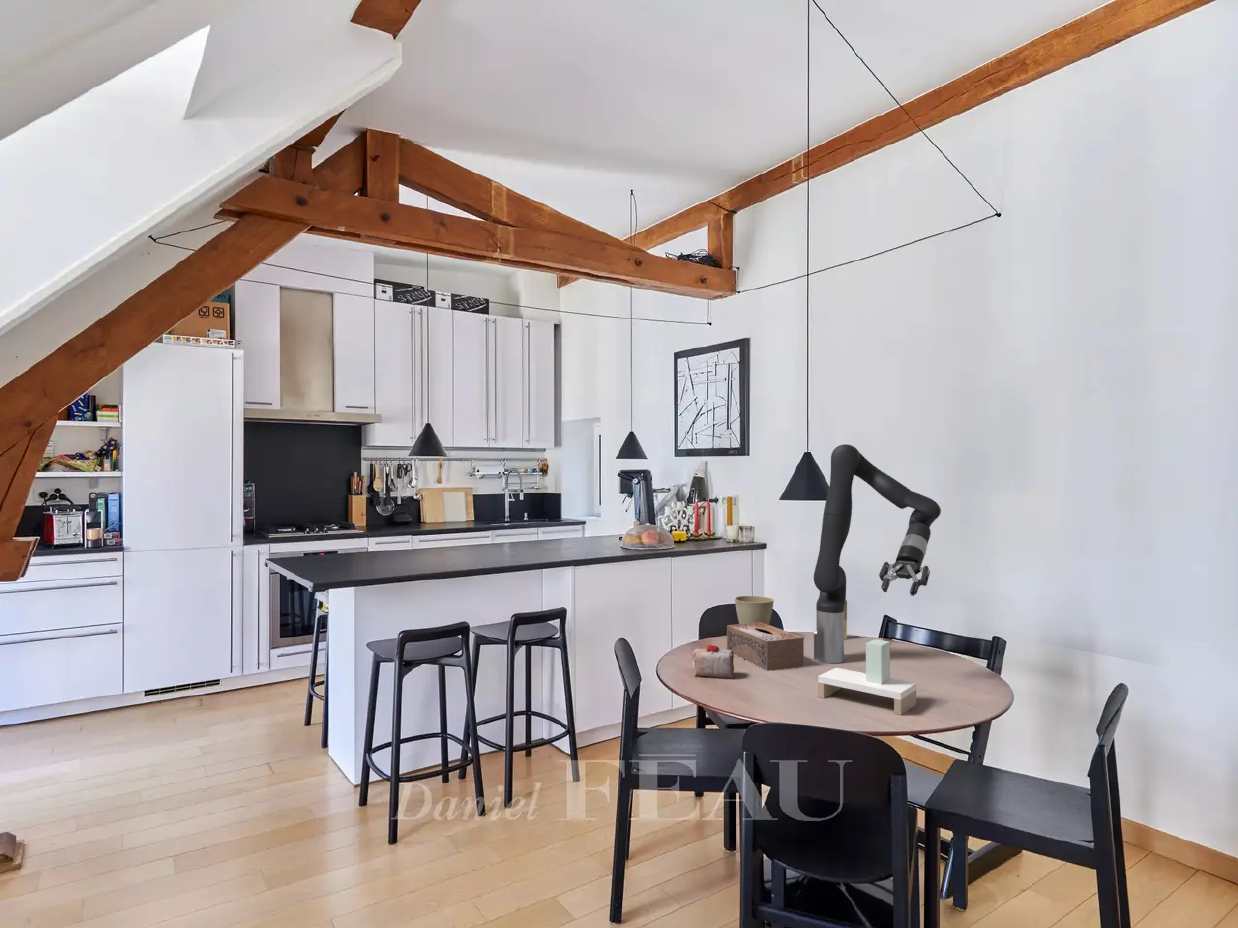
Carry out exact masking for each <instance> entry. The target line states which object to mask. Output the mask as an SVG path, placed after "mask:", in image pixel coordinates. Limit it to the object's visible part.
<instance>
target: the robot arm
mask: <svg viewBox="0 0 1238 928" xmlns="http://www.w3.org/2000/svg"><path fill="white" fill-rule="evenodd" d="M829 477H830V479H829V487H828V491H827V494H826V495H827V496H826V499H825V505H824V510H823V515H822V516H823V517H822V525H821V526H822V527H821V535H820V543H819V551H818V556H817V559H816V564H815V568H814V572H813V582H814V585H815V587H816V588H817V590H818V591H819V596H818V599H817V601H816V607H815V608H816V611H815V612H816V616H815V617H816V626H815V627H816V630H815V631H814V632H813V660H816V661H819V662H821V663H826V664H827V663H829V664H839V663H844V661H845V639H844V605H845V601H846V600H847V576H846V572H845V570H844V568H843V567H842V566H840V561H841V554H842V550H843V548H844V545H845V543H846V540H847V538H848V535H849V532H850V528H851V522H852V515H853V483H854V477H857V478H859V479H861V480H862V481H863V482H865V483H866V484H868V485H869V486H870V487H871V488H872V489H873V490H874V491H876V492H877V493H878V494H879V495H880V496H881V497H883V498H884V499H885V500H887V501H888V502H890V503H891V504H893V505H894V506H896V507H897V508H899V509H901V510H904V509H906V508H911V509H913V511H912V512H911V515H910V517H909V521H908V527H907V531H906V533H905V536H904V539H903V540H902V542H901V544H900V547H899V550H898V553H897V555H896V558H895V562H894V563H893V564H891V563H889V562H888V561H884V563H883V565H882V567H881V569H880V572H879V573H878V577H879V579H880V580H881V582H882V583H881V585H880V586H881V589H882V590H881V591H883V593H887V592H888V589H889V586H890V583H891V582H893V581H896V580H897V579H905V580H910V579H911V580H912V581H913V582H912V584H911V587H910V590H909V594H910V596H912V597H914V596H915V595H917V593H918V591H919V587H921V586H923V587H927V585H928V581H929V577H930V573H931V570H930V568H929V566H928V565H924V566H922V564H923V561H924V558H925V555H926V553H927V549H928V544H929V541H930V538H931V535H932V534H931V532H932V531H931V526H932V524H933V523H934V522H936V520H937V519H938V518H939V517H940V516H941V513H942V508H941V507H940V505H939V503H938V502H937V501H935V500H934V499H932V498H930V497H929V496H926V495H923V494H921V493H918V492H915V491H913V490H911V489H910V488H908V487H906V486H905V485H904V484H902V483H901V482H900V481H898V480H897V479H895V478H893V477H892V476H891V475H888V474H887V473H885V472H884V471H883V470H881V469H879V468H878V467H877V466H875V465H874V464H873V463H872V462H871V461H869V460H868V459H867V458H866V457H865V456H864V455H863V454H862V453H861V452H860V451H859V450H858V449H857V448H856V447H855V446H854V445H853V444H845V443H844V444H840V445H838V446H836V447H835V448H834V449H833V450H832V452H831V455H830V476H829ZM919 573H921V577H920V579H919V578H918V577H917V575H918V574H919Z"/></svg>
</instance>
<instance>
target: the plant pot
mask: <svg viewBox="0 0 1238 928" xmlns="http://www.w3.org/2000/svg"><path fill="white" fill-rule="evenodd" d="M774 601H775V600H774V598H772V597H768V596H767V597H766V596H760V595H759V596H758V595H740V596H735V597H734V603H735V610H736V616H737V621H738V624H747V623H757V622H762V623H765V624H767V625H770V622H771V619H772V614H773V607H774Z"/></svg>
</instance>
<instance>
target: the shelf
mask: <svg viewBox="0 0 1238 928" xmlns="http://www.w3.org/2000/svg"><path fill="white" fill-rule="evenodd" d="M842 688H844V689H849V690H854V691H858V692H863V693H867V694H872V695H876V696H881V697H886V698H892V699H893V714H894V715H898V716H902V715H903V714H905V713H906V712H908V711H909V710H910V709H912V708H913V707H915V706H916V705H917V683H916V682H912V681H907V680H901V679H896V678H892V677H891V678H890V680H889V681H887V682H885V683H884V684H882V685H880V684H876V683H871V682H866V672H865V673H864V672H860V671H855V670H850V669H845V668H841V667H834V668H832V669H830V670H828V671H826V672H824V673H822V674H820V675H818V676H817V693H818V694H817V696H818V698H821V699H822V698H823V699H824V698H826V697H828V696H830V695H832V694H834V693H835V692H837V691H840V690H841V689H842Z"/></svg>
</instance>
